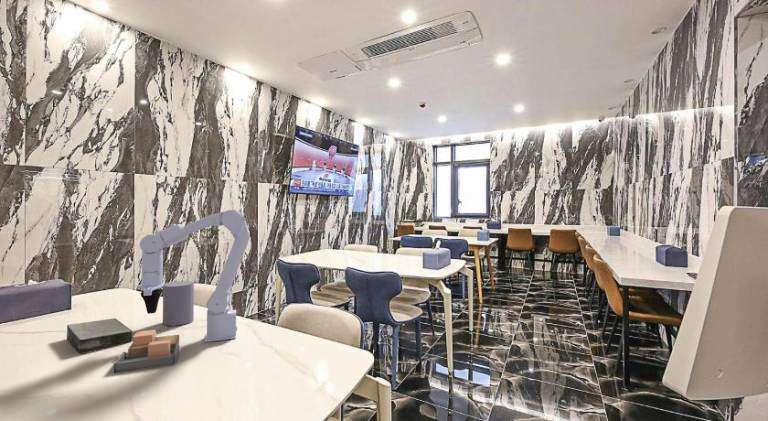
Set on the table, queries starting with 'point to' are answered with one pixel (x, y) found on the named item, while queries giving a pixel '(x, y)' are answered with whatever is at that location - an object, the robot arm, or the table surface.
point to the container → (178, 303)
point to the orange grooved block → (144, 347)
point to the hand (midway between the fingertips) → (151, 312)
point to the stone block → (98, 335)
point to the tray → (144, 361)
